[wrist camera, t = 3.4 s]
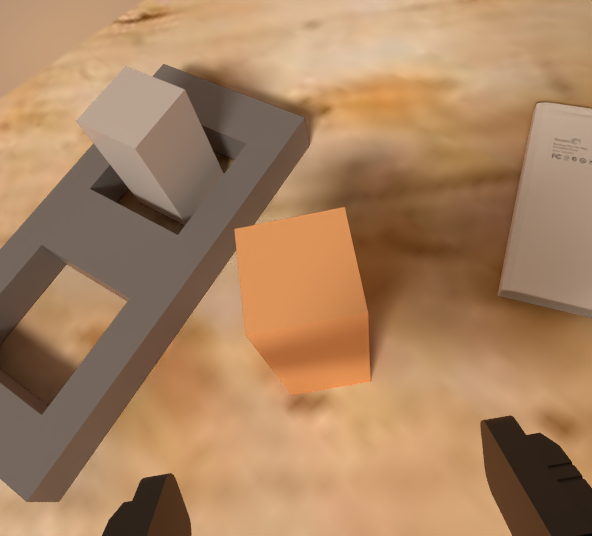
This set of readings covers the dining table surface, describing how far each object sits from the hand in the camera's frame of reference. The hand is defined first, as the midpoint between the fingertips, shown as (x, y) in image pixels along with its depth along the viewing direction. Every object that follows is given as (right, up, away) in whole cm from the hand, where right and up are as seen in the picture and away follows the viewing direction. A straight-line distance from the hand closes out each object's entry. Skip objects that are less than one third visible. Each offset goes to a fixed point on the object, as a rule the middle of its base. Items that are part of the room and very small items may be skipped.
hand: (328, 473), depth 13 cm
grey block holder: (-11, +6, +17) cm, 21 cm away
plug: (+1, +1, +13) cm, 13 cm away
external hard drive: (+15, +8, +15) cm, 23 cm away
